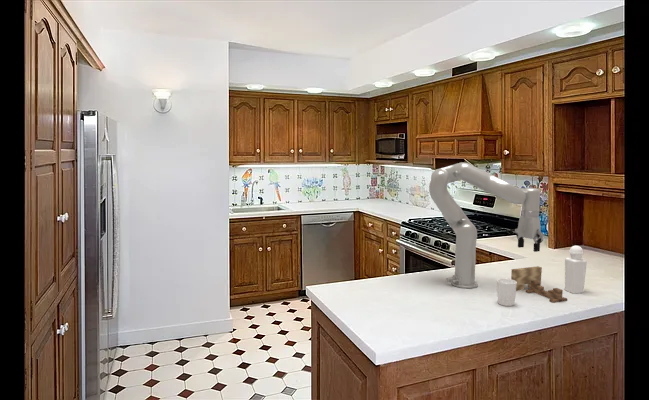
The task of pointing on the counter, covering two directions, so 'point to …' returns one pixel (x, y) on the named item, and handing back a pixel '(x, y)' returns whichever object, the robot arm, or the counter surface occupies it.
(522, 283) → the slotted board
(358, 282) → the counter surface
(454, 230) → the robot arm
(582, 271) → the white tall bottle shape
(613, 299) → the counter surface
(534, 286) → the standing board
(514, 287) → the white cup
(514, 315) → the counter surface
